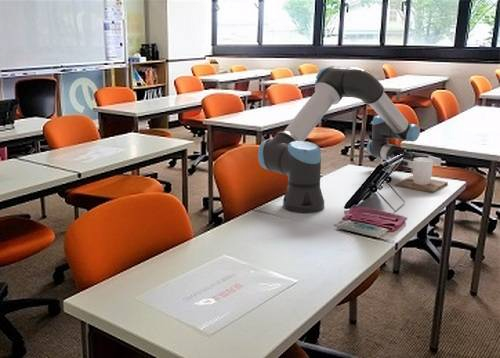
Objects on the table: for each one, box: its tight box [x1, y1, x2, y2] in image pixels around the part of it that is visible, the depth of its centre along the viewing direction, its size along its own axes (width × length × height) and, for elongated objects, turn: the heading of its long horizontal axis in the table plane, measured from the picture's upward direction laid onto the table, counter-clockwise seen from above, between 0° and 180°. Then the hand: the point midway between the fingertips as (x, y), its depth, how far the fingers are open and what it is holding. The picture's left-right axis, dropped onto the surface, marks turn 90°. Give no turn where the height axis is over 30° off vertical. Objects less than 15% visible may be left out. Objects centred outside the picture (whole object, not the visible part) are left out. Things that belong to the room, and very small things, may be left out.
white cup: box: [412, 157, 434, 185], centre depth 212 cm, size 8×8×10 cm
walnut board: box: [394, 175, 449, 194], centre depth 213 cm, size 16×16×1 cm
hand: (427, 163), depth 209 cm, fingers open, 13 cm apart
